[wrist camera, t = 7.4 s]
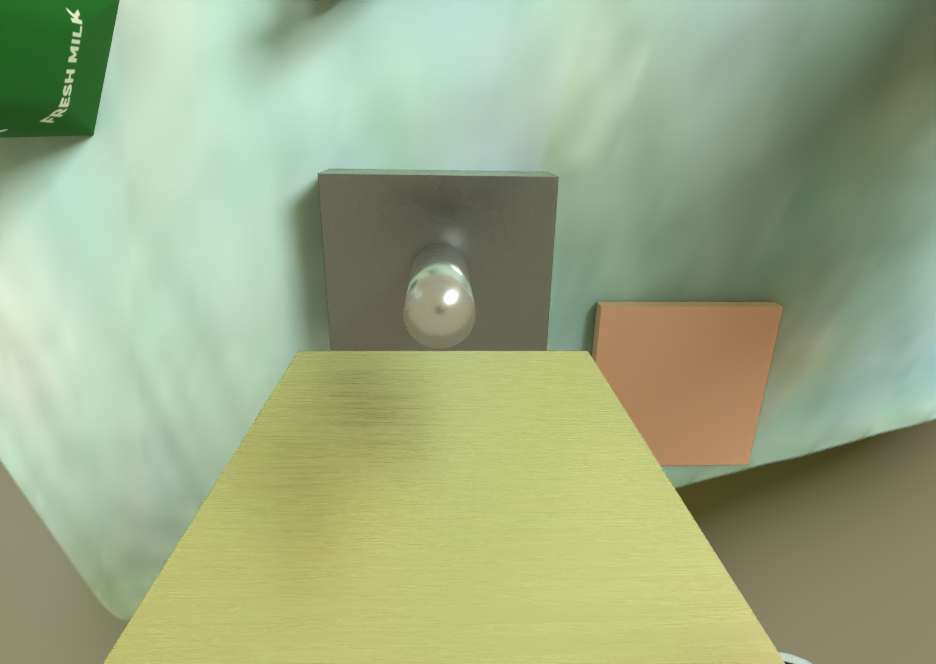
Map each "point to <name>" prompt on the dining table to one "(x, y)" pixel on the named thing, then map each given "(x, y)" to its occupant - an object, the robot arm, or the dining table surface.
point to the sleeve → (443, 528)
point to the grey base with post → (438, 259)
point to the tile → (689, 373)
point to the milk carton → (53, 65)
